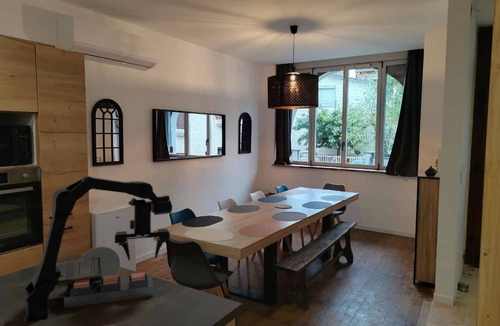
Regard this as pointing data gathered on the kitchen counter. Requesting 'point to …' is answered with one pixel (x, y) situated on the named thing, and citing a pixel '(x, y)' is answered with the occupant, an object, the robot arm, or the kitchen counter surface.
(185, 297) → the kitchen counter surface
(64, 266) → the coffee box
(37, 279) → the robot arm
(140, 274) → the button
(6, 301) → the kitchen counter surface
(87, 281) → the button
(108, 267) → the chinaware
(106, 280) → the button
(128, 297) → the gray slotted rack
